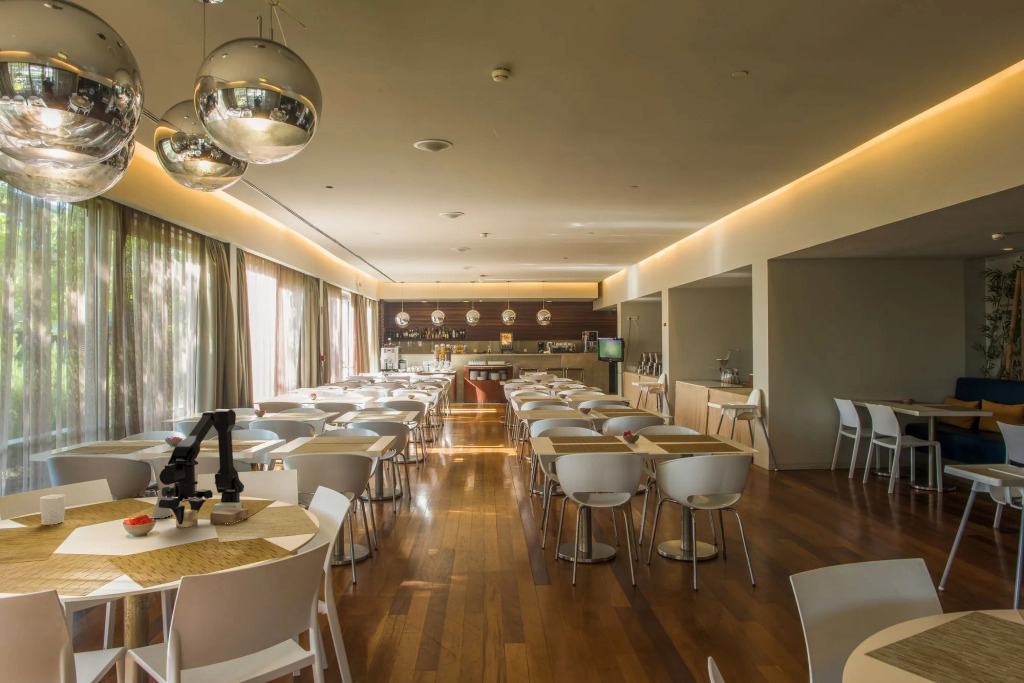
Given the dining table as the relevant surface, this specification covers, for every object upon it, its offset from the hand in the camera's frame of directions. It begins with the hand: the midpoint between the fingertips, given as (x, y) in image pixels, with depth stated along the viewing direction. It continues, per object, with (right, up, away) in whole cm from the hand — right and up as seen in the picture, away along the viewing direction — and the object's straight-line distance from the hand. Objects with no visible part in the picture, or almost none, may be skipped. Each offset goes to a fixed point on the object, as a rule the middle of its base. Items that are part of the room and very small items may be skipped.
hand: (186, 522), depth 240 cm
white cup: (-53, -2, +6) cm, 53 cm away
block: (+8, -1, +17) cm, 18 cm away
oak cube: (0, -1, 0) cm, 1 cm away
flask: (-16, -2, +13) cm, 21 cm away
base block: (+13, -1, +6) cm, 14 cm away
